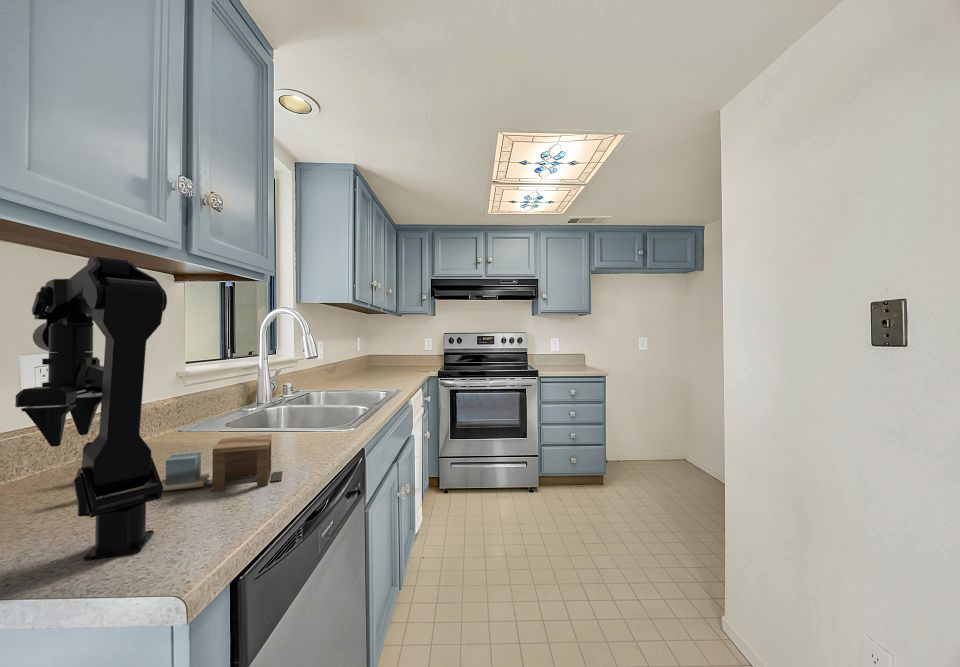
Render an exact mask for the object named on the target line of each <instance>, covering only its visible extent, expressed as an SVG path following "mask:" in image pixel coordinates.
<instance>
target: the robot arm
mask: <svg viewBox="0 0 960 667" xmlns="http://www.w3.org/2000/svg"><path fill="white" fill-rule="evenodd" d="M167 303H168V298H167V294H166V291H165V290H164V288H163V287H162V286H161V284H160V283H159V281H158V279H156V278H155V277H153V276H151V275H149V274H148V273H146V272H144V271H142V270H141V269H139V268H137V267H136V266H135V264H134V263H133V261H129V260H127V259H126V258H118V257H110V256H103V255H102V256H101V255H96V256H90V257H89V258H88V261H87V263H86V265H85V266H83V267H82V268H81V269H80V270H79V271H77V272H76V273H74V274H73V275H72V276H71V277H70V278H53V279H49V280H48V281H46V283H45V285H44V286H43V285H42V286H40V289H39V291H38V292H37V293H36V294H35V298H34V301H33V305H32V308H31V313H32V315H33V317H34V320H40V321H41V320H44V321H45V323H42V324H40V325H38V326H37V327H36V328H35V329H34V331H33V333H32V339H33V340H32V341H33V342H34V344H35V345H36V346H37V347H38V348H39V349H41V350H44V351H47V352H48V358H42V363H41V364H42V366H45V365H48V367H47V368H48V372H47V374H48V380H47V381H46V382H42V383H41V386H35V387H29V388H23V389H22V390H20V391H19V392H18V393H17V394H16V395H15V408H20V410H21V412H23V413H24V412H25V413H26V415H27V416H28V418H30V420H31V421H32V422H33V423H34V424H35V426H36V428H37V429H38V430H39V432H40V433H41V434H42V435H43V437H44V439H45V440H46V442H47V443H48V445H49V446H50V447H60V446H61V444H62V440H63V434H64V430H65V425H66V424H65V423H66V418H67V414H68V413H70V415H71V418H72V419H73V420H72V421H73V422H74V426H75V428H76V430H77V432H78V435H79V436H86V435H88V434H89V432H90V429H91V426H92V423H93V420H94V418H95V415H96V412H97V410H98V408H99V406H100V416H99V431H98V434H97V436H96V437H95V438H94V440H93V441H89V442H86V443H85V444H84V445H83V446H84V447H83V448H82V458H81V459H82V460H81V467H79V468H78V469H77V470H76V471H77V472H76V476H75V478H74V479H73V480H72V482H73V483H72V484H73V487H74V488H73V489H74V492H75V493H74V494H75V498H76V504H77V517H89V518H90V519H92V518H95V532H94V533H95V534H94V535H95V536H94V538H95V541H94V542H95V543H94V546H92V547H91V548H90V549H88V551H87V552H86V553H85V555H84V556H83V560H84V561H87V560H96V559H99V558H101V559H102V558H105V557H106V558H107V557H108V558H109V557H114V556H120V555H128V554H134V553H139V552H141V551H142V550H143V549H144V547H145V546H146V545H147V544H148V542H149V541H150V539H151V538H152V537H153V535H154V534H155V530H154V529H153V530H151V529H150V530H147V529H146V526H147V524H146V522H147V502H153V501H155V500H157V501H158V500H161V499H162V496H163V492H164V491H163V485H162V483H161V480H162V479H161V478H160V474H159V472H158V470H157V467H156V464H155V460H154V459H153V457H152V449H151V448H150V447H149V446H148V444H147V443H146V442H145V441H144V438H142V436H141V434H140V432H141V430H140V429H141V420H142V419H141V418H142V404H143V389H144V380H145V379H144V378H145V375H144V374H145V364H146V363H145V362H146V352H147V351H146V349H147V341H148V339H149V338H150V337H152V335H153V334H154V332H156V330H158V328H159V327H160V326H161V324H162V319H163V314H164V312H165V310H166V308H167V305H168V304H167ZM94 323H95V325H96V326H97V329H99V330H100V332H101V333H102V335H103V336H104V337H105V343H104V358H103V366H102V365H101V361H100V359H99V357H97V356H95V357H94ZM142 486H144V488H143V489H139V490H135V491H131V492H127V493H123V494H118V495H114V496H110V497H106V498H97V497H101V496H105V495H109V494H113V493H117V492H121V491H126V490H130V489H134V488H138V487H142Z"/></svg>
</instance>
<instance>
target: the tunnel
mask: <svg viewBox="0 0 960 667" xmlns="http://www.w3.org/2000/svg"><path fill="white" fill-rule="evenodd" d="M270 473H272V434H263V435H250V436H249V435H248V436H246V435H245V436H237V437H235V436H234V437H223V438H220V440H219V441H218V442H217V443H216V445H214V447H213V448H212V478H211V480H212V486H211V488H212V489H211V490H212V491H211V492H212V493H213V492H221V491H225V478H233V477H243V476H253V475H257V481H256V487H265V486H268V485H269V480H268V474H270Z"/></svg>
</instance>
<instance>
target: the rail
mask: <svg viewBox="0 0 960 667" xmlns="http://www.w3.org/2000/svg"><path fill="white" fill-rule="evenodd" d="M270 477H271V474H270V473H268V481H269V480H270V479H271V478H270ZM249 482H251V483H252V482H257V474H253V475H243V476H234V477H225V485H233V484H242V483H243V484H244V483H249ZM205 487H206V488H207V487H212V479H208V480H207V481H206V483H205V484H204V486H200V487H191V488H182V489H181V490H187V489H197V488H205ZM177 490H180V489H172V490H163V491H162V492H168V491H169V492H170V491H177ZM123 493H127V492H123ZM123 493H114V494H109V495H105V496H101V497H110V496H114V495H118V494H123ZM101 497H97V498H96V499H102V498H101Z"/></svg>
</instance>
